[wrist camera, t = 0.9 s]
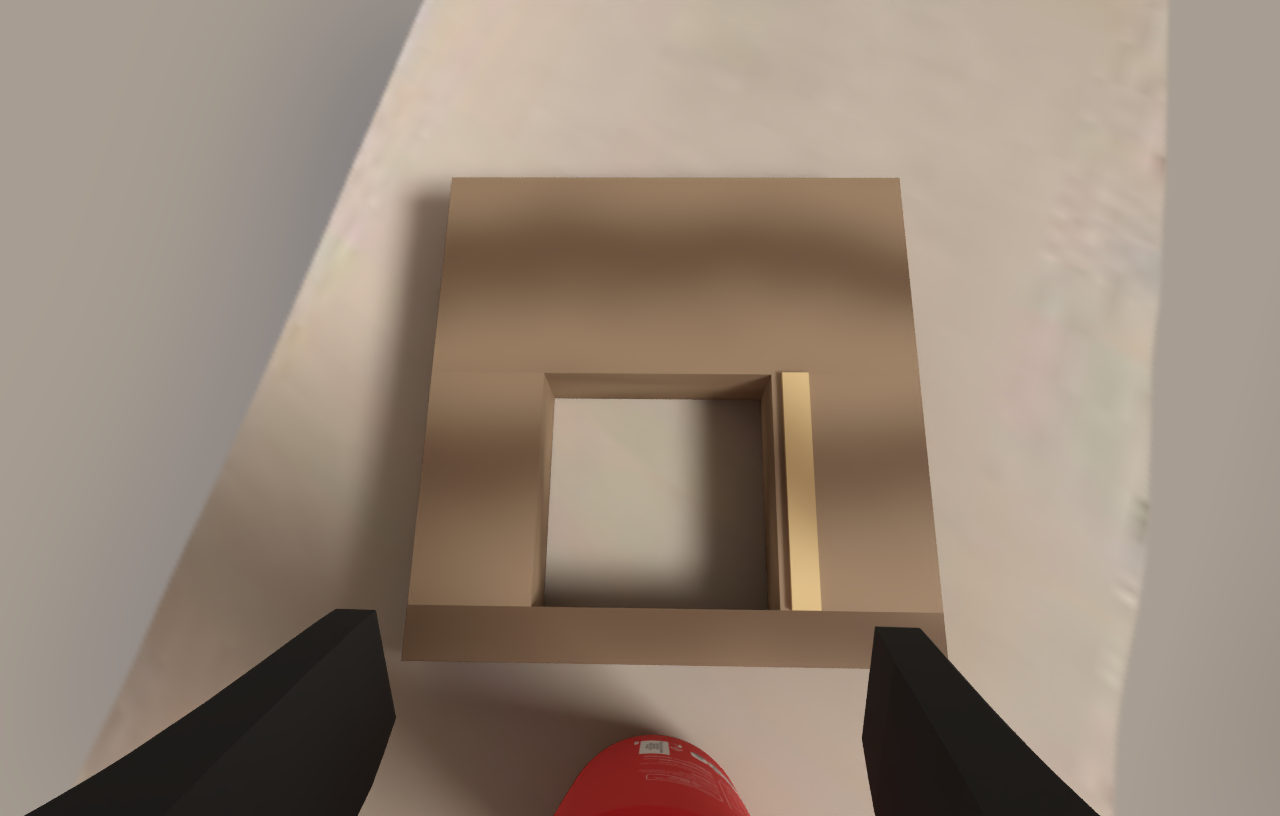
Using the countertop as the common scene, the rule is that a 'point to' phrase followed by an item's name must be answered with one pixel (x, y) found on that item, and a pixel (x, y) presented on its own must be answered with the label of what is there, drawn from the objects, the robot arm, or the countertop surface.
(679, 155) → the countertop surface
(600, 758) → the beverage can
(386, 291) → the countertop surface
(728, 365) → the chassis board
